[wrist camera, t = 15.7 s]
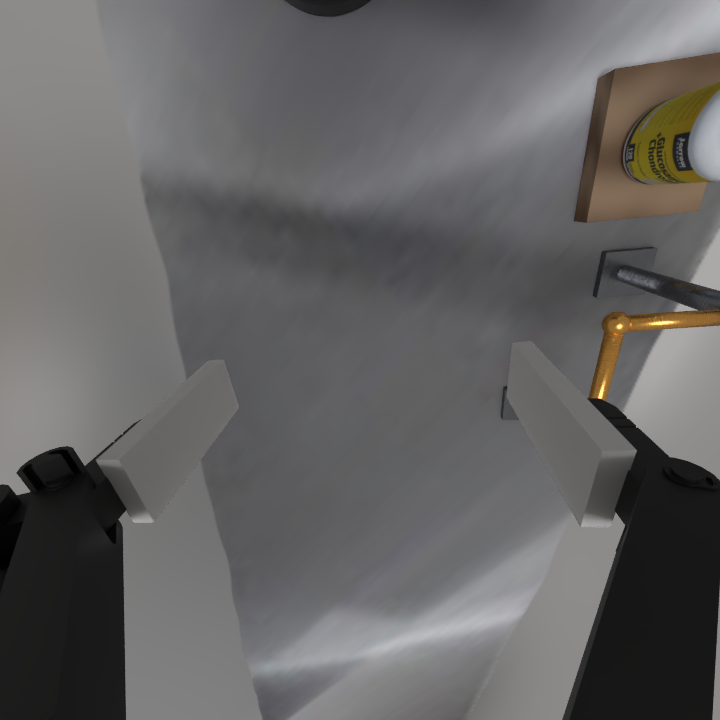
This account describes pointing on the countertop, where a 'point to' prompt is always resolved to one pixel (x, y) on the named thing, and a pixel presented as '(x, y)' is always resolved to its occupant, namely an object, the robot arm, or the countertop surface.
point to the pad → (612, 127)
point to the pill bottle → (677, 140)
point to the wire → (634, 277)
